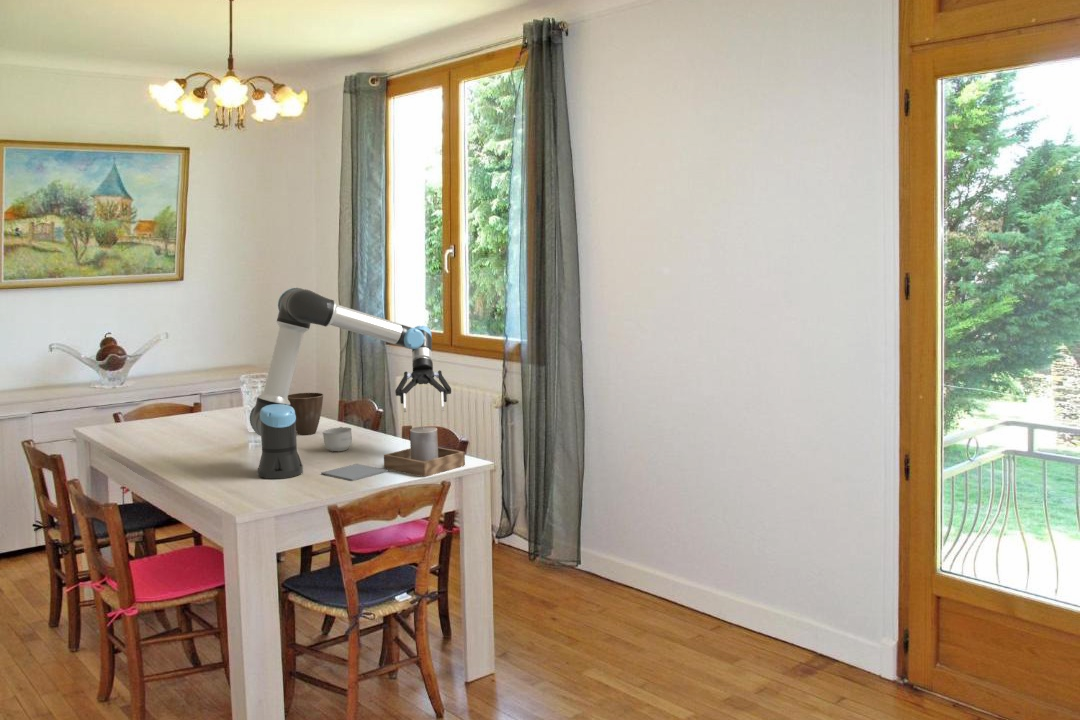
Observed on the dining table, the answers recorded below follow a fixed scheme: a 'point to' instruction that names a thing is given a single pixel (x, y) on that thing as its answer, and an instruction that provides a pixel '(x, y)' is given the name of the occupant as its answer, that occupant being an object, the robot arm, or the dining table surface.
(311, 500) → the dining table surface
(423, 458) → the pillar candle
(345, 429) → the teacup
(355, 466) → the grey rubber mat
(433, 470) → the walnut box
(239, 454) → the dining table surface
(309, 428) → the plant pot
